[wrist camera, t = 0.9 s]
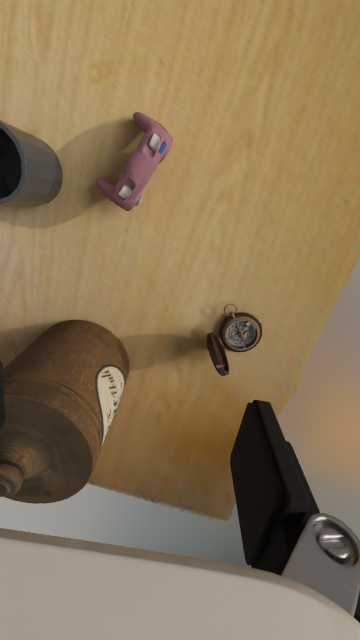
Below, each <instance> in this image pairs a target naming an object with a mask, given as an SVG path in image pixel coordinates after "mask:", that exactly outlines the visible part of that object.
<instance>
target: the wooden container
mask: <svg viewBox="0 0 360 640" xmlns="http://www.w3.org/2000/svg"><path fill="white" fill-rule="evenodd" d="M2 372H3V387H4V401H5V416H6V418H5V423H4V425H3V427H2V428H1V430H0V497H6V498H9V499H12V500H15V501H20V502H26V503H52V502H56V501H61V500H64V499H67V498H69V497H71V496H73V495H74V494H76V493H77V492H79V491H80V490H81V489H82V488H83V487H84V486H85V485H86V484H87V482H88V481H89V479H90V477H91V475H92V472H93V470H94V468H95V465H96V462H97V460H98V457H99V454H100V451H101V447H102V444H103V442H104V439H105V437H106V434H107V432H108V429H109V427H110V424H111V421H112V419H113V417H114V414H115V412H116V409H117V406H118V404H119V401H120V398H121V395H122V392H123V389H124V386H125V383H126V381H127V378H128V373H129V360H128V356H127V353H126V350H125V348H124V347H123V345H122V343H121V342H120V341H119V339H118V338H117V337H116V336H115V335H114V334H112V333H111V332H110V331H109V330H107V329H106V328H104V327H102V326H100V325H98V324H96V323H93V322H89V321H84V320H70V321H65V322H61V323H58V324H56V325H54V326H52V327H51V328H50V329H48V330H47V331H46V332H45V333H43V334H42V335H41V336H40V337H39V338H38V339H37V340H35V341H34V342H33V343H32V344H31V345H30V346H28V347H27V348H26V349H25V350H24V351H23V352H22V353H21V354H20V355H19V356H17V357H16V358H15V359H14V360H13V361H12V362H11V363H10V364H9V365H8V366H7V367H6V368H5V369H4V370H3V371H2Z"/></svg>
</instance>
